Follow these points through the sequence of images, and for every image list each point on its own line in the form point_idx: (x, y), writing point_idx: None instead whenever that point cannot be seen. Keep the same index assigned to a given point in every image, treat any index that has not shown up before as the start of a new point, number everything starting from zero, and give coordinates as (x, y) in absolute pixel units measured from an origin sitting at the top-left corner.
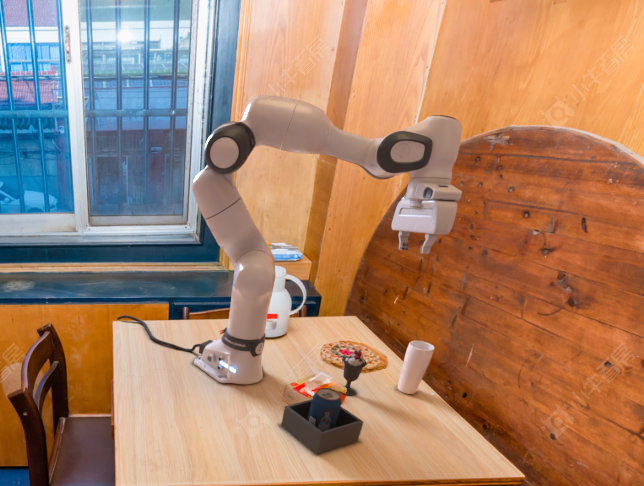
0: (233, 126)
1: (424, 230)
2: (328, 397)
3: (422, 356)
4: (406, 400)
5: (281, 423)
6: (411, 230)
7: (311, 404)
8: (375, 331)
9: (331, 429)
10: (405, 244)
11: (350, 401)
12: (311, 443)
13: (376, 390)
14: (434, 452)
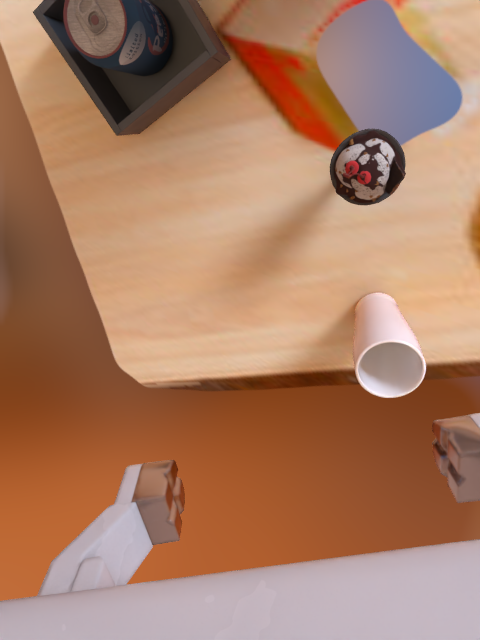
0: None
1: (45, 612)
2: (84, 19)
3: (354, 354)
4: (328, 294)
5: None
6: (322, 567)
7: None
8: None
9: (59, 42)
10: (459, 470)
11: (307, 157)
12: None
13: (370, 240)
14: (142, 277)
